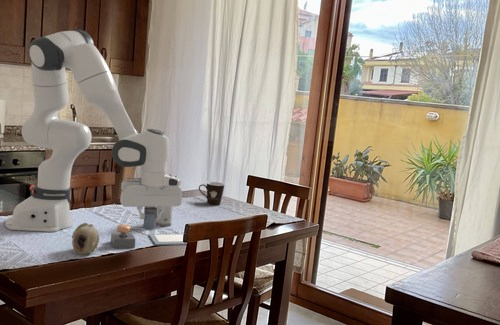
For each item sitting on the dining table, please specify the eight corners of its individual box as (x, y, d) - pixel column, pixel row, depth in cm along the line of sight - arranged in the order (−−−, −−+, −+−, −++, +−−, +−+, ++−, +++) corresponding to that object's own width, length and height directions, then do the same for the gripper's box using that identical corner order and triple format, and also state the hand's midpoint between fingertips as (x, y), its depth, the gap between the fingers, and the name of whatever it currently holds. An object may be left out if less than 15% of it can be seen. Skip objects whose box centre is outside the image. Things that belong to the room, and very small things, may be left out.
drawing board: (155, 245, 182) (155, 243, 182) (148, 235, 192) (149, 233, 192) (193, 244, 188) (194, 242, 187) (185, 235, 197) (185, 233, 197)
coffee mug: (225, 204, 255) (228, 184, 253) (215, 206, 247) (217, 186, 246) (206, 199, 261) (208, 179, 259) (196, 201, 253) (198, 181, 252)
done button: (117, 241, 176) (118, 228, 175) (115, 237, 180) (116, 224, 179) (130, 241, 178) (131, 228, 177) (128, 237, 182) (129, 224, 181)
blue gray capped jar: (144, 229, 173) (146, 209, 172) (141, 226, 177) (143, 206, 176) (157, 229, 175) (158, 209, 174) (153, 225, 179) (155, 205, 177)
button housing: (113, 248, 174) (114, 239, 174) (110, 241, 181) (111, 233, 180) (134, 247, 177) (135, 239, 177) (131, 241, 184) (131, 232, 183)
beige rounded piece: (72, 256, 170) (68, 225, 170) (99, 251, 173) (95, 221, 174) (74, 257, 161) (70, 225, 162) (102, 251, 164) (98, 220, 165)
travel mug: (168, 227, 205) (173, 177, 202) (152, 224, 206) (157, 175, 203) (174, 223, 211) (178, 175, 208) (158, 221, 212) (163, 173, 209)
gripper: (123, 180, 166) (120, 222, 168) (185, 181, 175) (181, 220, 177) (119, 176, 171) (116, 216, 174) (179, 177, 180) (176, 215, 182)
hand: (150, 218), depth 175 cm, fingers closed on blue gray capped jar, 4 cm apart
